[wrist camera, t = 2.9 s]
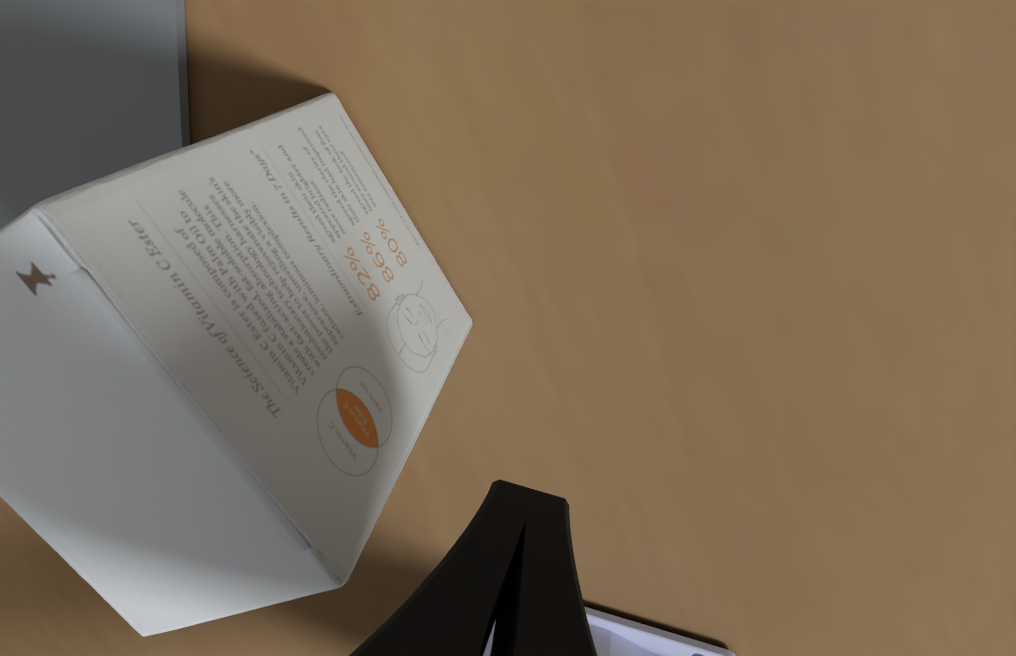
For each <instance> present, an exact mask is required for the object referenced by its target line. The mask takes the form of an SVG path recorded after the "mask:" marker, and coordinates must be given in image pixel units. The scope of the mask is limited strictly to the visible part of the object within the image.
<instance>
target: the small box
mask: <svg viewBox="0 0 1016 656" xmlns="http://www.w3.org/2000/svg"><path fill="white" fill-rule="evenodd" d="M471 326H472V320H471V318H470V316H469V315H468V313H467V312H466V310H465V308H464V307H463V305H462V303H461V302H460V300H459V299H458V297H457V295H456V294H455V292H454V291H453V289H452V287H451V285H450V284H449V282H448V280H447V279H446V277H445V275H444V274H443V272H442V271H441V269H440V267H439V266H438V264H437V262H436V260H435V259H434V257H433V255H432V254H431V252H430V251H429V249H428V247H427V246H426V244H425V242H424V241H423V239H422V238H421V236H420V234H419V233H418V231H417V229H416V228H415V226H414V224H413V223H412V221H411V219H410V218H409V216H408V214H407V213H406V211H405V209H404V208H403V206H402V204H401V203H400V201H399V199H398V198H397V196H396V194H395V193H394V191H393V189H392V188H391V186H390V184H389V183H388V181H387V180H386V178H385V176H384V175H383V173H382V171H381V170H380V168H379V166H378V165H377V163H376V161H375V160H374V158H373V156H372V155H371V153H370V151H369V150H368V148H367V147H366V145H365V143H364V142H363V140H362V138H361V137H360V135H359V133H358V132H357V130H356V128H355V127H354V125H353V123H352V122H351V120H350V118H349V117H348V115H347V113H346V112H345V110H344V108H343V106H342V105H341V103H340V101H339V99H338V98H337V96H336V95H335V94H334V93H331V92H330V93H326V94H322V95H320V96H317V97H315V98H313V99H310V100H308V101H305V102H303V103H300V104H297V105H295V106H293V107H290V108H287V109H284V110H282V111H279V112H277V113H274V114H271V115H269V116H266V117H264V118H262V119H259V120H256V121H253V122H251V123H248V124H246V125H243V126H240V127H238V128H235V129H232V130H229V131H227V132H224V133H222V134H219V135H217V136H214V137H211V138H208V139H204V140H202V141H200V142H197V143H195V144H192V145H189V146H186V147H183V148H180V149H177V150H175V151H172V152H169V153H166V154H163V155H160V156H158V157H155V158H152V159H149V160H147V161H144V162H141V163H139V164H136V165H133V166H131V167H128V168H125V169H123V170H120V171H118V172H115V173H113V174H110V175H107V176H105V177H102V178H99V179H97V180H94V181H91V182H89V183H86V184H83V185H80V186H78V187H75V188H72V189H70V190H68V191H65V192H63V193H60V194H58V195H55V196H52V197H50V198H47V199H45V200H43V201H41V202H39V203H37V204H35V205H33V206H32V207H31V208H29V209H28V210H27V211H25V212H24V213H23V214H21V215H20V216H19V217H17V218H16V219H14V220H13V221H12V222H10V223H9V224H7V225H6V226H5V227H3V228H2V229H0V497H1V498H2V499H3V500H4V501H6V502H7V503H8V504H9V505H10V506H11V507H12V508H13V509H14V510H15V511H16V512H17V513H18V514H19V515H20V516H21V517H22V518H23V519H24V520H25V521H26V522H27V523H28V524H29V525H30V526H31V527H32V529H33V530H34V531H35V532H36V533H37V534H38V535H39V536H41V537H42V538H43V539H44V540H45V541H46V542H47V543H48V544H49V545H50V546H51V547H52V548H53V549H54V550H55V551H56V552H57V553H58V554H59V555H60V556H61V557H62V558H63V559H64V560H65V561H66V562H67V563H68V564H69V565H70V566H71V567H72V568H73V569H74V570H75V571H76V572H77V573H78V574H79V575H80V576H81V577H82V578H83V579H84V580H86V581H87V582H88V583H89V584H90V585H91V586H92V587H93V588H94V589H95V590H96V591H97V592H98V593H99V594H100V595H101V596H102V597H103V598H104V599H105V600H106V601H107V602H108V603H109V604H110V605H111V606H112V607H113V608H114V609H115V610H116V611H117V612H118V613H119V614H120V615H121V616H122V617H123V618H124V619H125V620H126V621H127V622H128V623H129V624H130V625H131V626H132V627H133V628H134V629H135V630H136V631H137V632H138V633H139V634H140V635H141V636H144V637H145V636H149V635H153V634H158V633H163V632H167V631H172V630H176V629H180V628H184V627H188V626H191V625H195V624H199V623H203V622H207V621H211V620H215V619H219V618H223V617H227V616H231V615H234V614H238V613H242V612H246V611H250V610H254V609H258V608H262V607H266V606H269V605H273V604H277V603H281V602H285V601H289V600H293V599H297V598H301V597H305V596H309V595H313V594H317V593H321V592H325V591H329V590H333V589H337V588H340V587H341V586H343V585H344V584H345V583H346V582H347V581H348V579H349V577H350V575H351V573H352V571H353V569H354V567H355V565H356V563H357V561H358V558H359V556H360V554H361V552H362V550H363V548H364V545H365V543H366V541H367V540H368V538H369V536H370V534H371V532H372V529H373V527H374V525H375V523H376V521H377V519H378V517H379V515H380V513H381V511H382V509H383V507H384V505H385V503H386V501H387V499H388V497H389V495H390V493H391V491H392V489H393V487H394V484H395V482H396V480H397V478H398V476H399V474H400V473H401V471H402V468H403V466H404V464H405V462H406V460H407V458H408V456H409V454H410V452H411V450H412V448H413V445H414V443H415V441H416V439H417V437H418V435H419V433H420V431H421V429H422V427H423V425H424V423H425V421H426V419H427V417H428V415H429V413H430V411H431V409H432V406H433V404H434V402H435V400H436V398H437V396H438V394H439V392H440V390H441V388H442V386H443V384H444V382H445V380H446V377H447V375H448V373H449V371H450V369H451V367H452V365H453V363H454V361H455V359H456V356H457V354H458V352H459V350H460V348H461V347H462V345H463V343H464V340H465V338H466V336H467V334H468V332H469V330H470V328H471Z"/></svg>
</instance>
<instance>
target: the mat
mask: <svg viewBox="0 0 1016 656" xmlns="http://www.w3.org/2000/svg"><path fill="white" fill-rule="evenodd" d="M189 145H190V125H189V101H188V77H187V53H186V29H185V5H184V0H0V229H2V228H3V227H5V226H6V225H7V224H9V223H10V222H12V221H13V220H14V219H16V218H17V217H19V216H20V215H21V214H23V213H24V212H25V211H27V210H28V209H29V208H31V207H32V206H33V205H35V204H37V203H39V202H41V201H43V200H45V199H47V198H50V197H52V196H55V195H58V194H60V193H63V192H65V191H68V190H70V189H72V188H75V187H78V186H80V185H83V184H86V183H89V182H91V181H94V180H97V179H99V178H102V177H105V176H107V175H110V174H113V173H115V172H118V171H120V170H123V169H125V168H128V167H131V166H133V165H136V164H139V163H141V162H144V161H147V160H149V159H152V158H155V157H158V156H160V155H163V154H166V153H169V152H172V151H175V150H177V149H180V148H183V147H186V146H189Z"/></svg>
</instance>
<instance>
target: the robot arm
mask: <svg viewBox="0 0 1016 656" xmlns="http://www.w3.org/2000/svg"><path fill="white" fill-rule="evenodd" d="M349 656H735V654H734V653H733V652H731V651H729V650H727V649H724V648H720V647H717V646H714V645H710V644H707V643H704V642H700V641H697V640H694V639H690V638H687V637H684V636H681V635H677V634H674V633H671V632H667V631H664V630H661V629H657V628H654V627H651V626H647V625H644V624H641V623H637V622H634V621H631V620H627V619H624V618H621V617H618V616H614V615H611V614H608V613H604V612H601V611H598V610H594V609H591V608H588V607H584V603H583V599H582V594H581V590H580V585H579V581H578V576H577V571H576V565H575V559H574V553H573V547H572V539H571V531H570V519H569V504H568V503H567V501H566V499H565V498H561V497H558V496H554V495H551V494H547V493H544V492H541V491H537V490H534V489H530V488H527V487H523V486H520V485H517V484H513V483H510V482H506V481H503V480H498V481H495V482H493V483H492V485H491V487H490V490H489V492H488V494H487V496H486V498H485V500H484V501H483V503H482V505H481V507H480V508H479V510H478V511H477V513H476V515H475V516H474V518H473V519H472V521H471V522H470V523H469V525H468V526H467V528H466V529H465V531H464V532H463V534H462V535H461V536H460V537H459V539H458V540H457V541H456V543H455V544H454V545H453V547H452V548H451V549H450V550H449V552H448V553H447V554H446V556H445V557H444V558H443V560H442V561H441V562H440V563H439V564H438V566H437V567H436V568H435V569H434V570H433V571H432V572H431V574H430V575H429V576H428V577H427V578H426V579H425V580H424V582H423V583H422V584H421V585H420V586H419V587H418V588H417V590H416V591H415V592H414V593H413V594H412V595H411V596H410V597H409V598H408V599H407V601H406V602H405V603H404V604H403V605H402V606H401V607H400V608H399V609H398V610H397V611H396V612H395V613H394V614H393V615H392V616H391V617H390V618H389V619H388V620H387V621H386V622H385V623H384V624H383V625H382V626H381V627H380V628H379V629H378V630H377V631H376V632H375V633H373V634H372V635H371V636H370V637H369V638H368V639H367V640H366V641H365V642H364V643H363V644H362V645H360V646H359V647H358V648H357V649H356V650H355V651H354V652H353V653H351V654H350V655H349Z"/></svg>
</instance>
